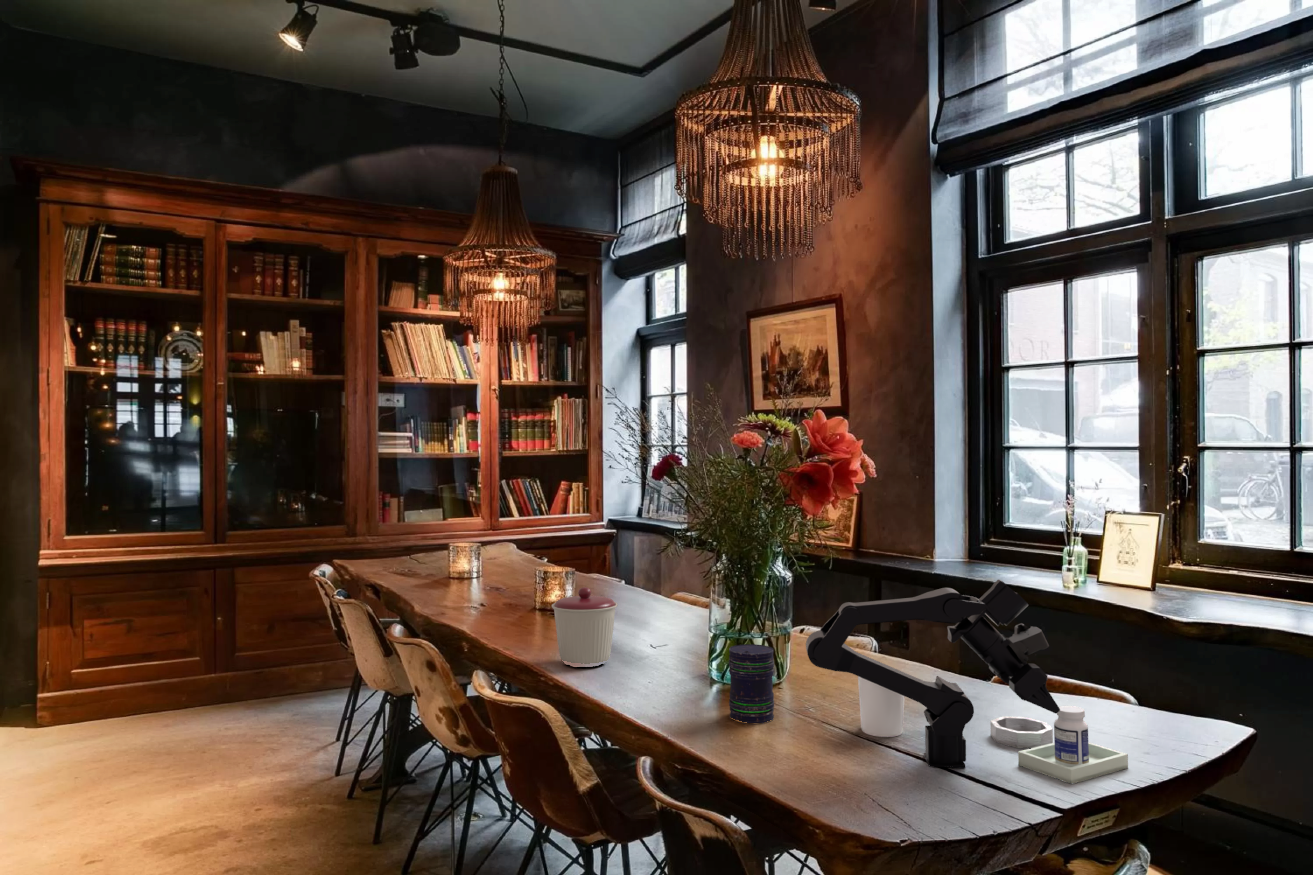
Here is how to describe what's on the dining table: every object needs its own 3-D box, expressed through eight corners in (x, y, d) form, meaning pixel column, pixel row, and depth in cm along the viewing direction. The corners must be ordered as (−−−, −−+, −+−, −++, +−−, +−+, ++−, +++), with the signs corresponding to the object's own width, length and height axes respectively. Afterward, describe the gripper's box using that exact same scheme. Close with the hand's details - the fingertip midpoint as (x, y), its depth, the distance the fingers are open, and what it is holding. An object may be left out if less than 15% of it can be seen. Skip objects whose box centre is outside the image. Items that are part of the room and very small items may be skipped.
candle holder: (848, 727, 189) (847, 670, 189) (886, 721, 193) (885, 665, 193) (877, 740, 180) (876, 680, 180) (916, 734, 184) (916, 675, 184)
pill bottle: (1075, 757, 168) (1075, 703, 169) (1095, 767, 163) (1095, 712, 163) (1048, 758, 167) (1047, 705, 168) (1067, 769, 162) (1066, 713, 162)
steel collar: (1000, 747, 176) (1000, 732, 176) (986, 730, 187) (986, 715, 187) (1058, 749, 175) (1057, 733, 175) (1040, 731, 185) (1040, 717, 185)
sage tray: (1071, 784, 156) (1071, 769, 156) (1018, 764, 166) (1018, 751, 166) (1128, 767, 164) (1127, 753, 164) (1074, 750, 174) (1073, 737, 174)
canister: (538, 664, 247) (538, 587, 248) (590, 653, 260) (590, 580, 260) (578, 675, 234) (578, 594, 234) (631, 664, 246) (631, 587, 247)
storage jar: (738, 708, 203) (738, 642, 204) (780, 714, 199) (779, 646, 199) (722, 720, 194) (721, 651, 195) (765, 726, 190) (765, 655, 190)
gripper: (1034, 622, 157) (1101, 687, 156) (1005, 604, 176) (1065, 662, 174) (988, 666, 158) (1054, 731, 157) (964, 643, 177) (1023, 701, 175)
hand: (1049, 704), depth 166 cm, fingers open, 9 cm apart
